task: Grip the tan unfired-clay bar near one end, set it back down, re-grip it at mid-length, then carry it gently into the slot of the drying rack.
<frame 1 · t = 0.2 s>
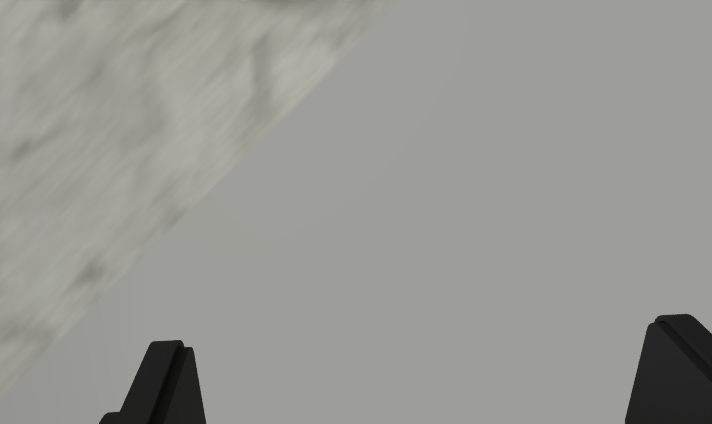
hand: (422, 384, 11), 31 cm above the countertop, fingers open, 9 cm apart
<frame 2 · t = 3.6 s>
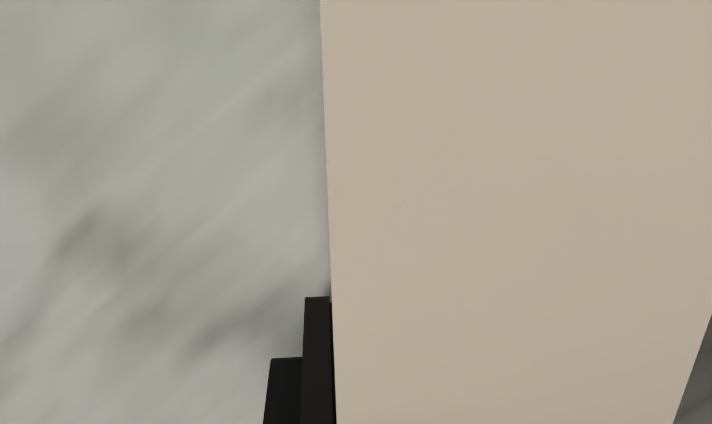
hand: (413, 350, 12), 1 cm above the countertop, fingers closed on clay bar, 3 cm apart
clay bar: (418, 182, 11), on the countertop, touching gripper
when the fingers open (1 cm above the countertop, at t = 5.2 s): clay bar stays where it is, on the countertop.
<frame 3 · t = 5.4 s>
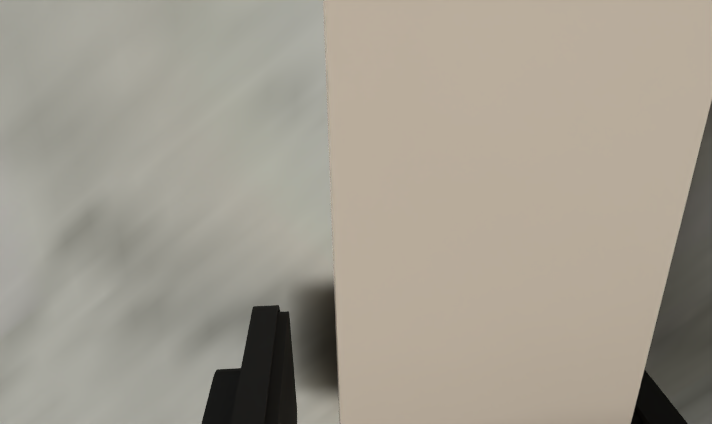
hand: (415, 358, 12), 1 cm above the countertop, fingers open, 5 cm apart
clay bar: (411, 228, 12), on the countertop
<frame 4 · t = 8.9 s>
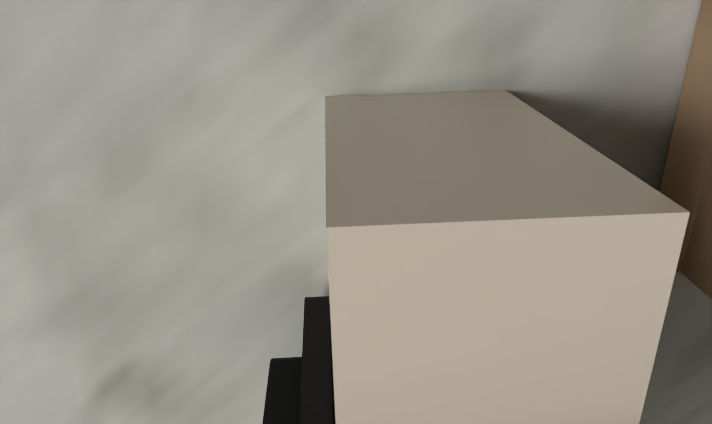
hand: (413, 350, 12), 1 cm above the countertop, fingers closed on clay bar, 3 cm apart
clay bar: (409, 379, 14), on the countertop, touching gripper
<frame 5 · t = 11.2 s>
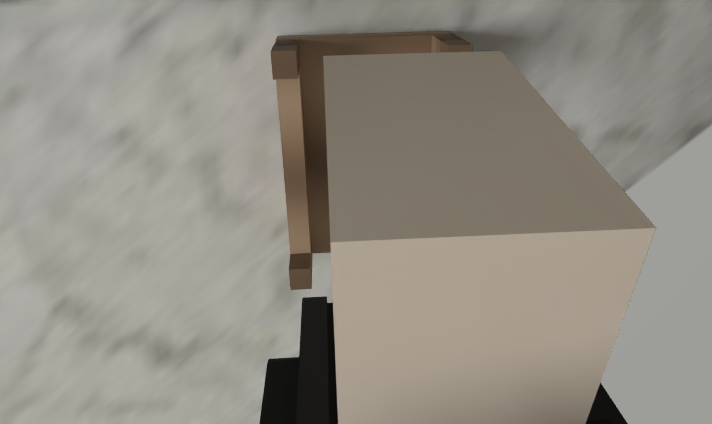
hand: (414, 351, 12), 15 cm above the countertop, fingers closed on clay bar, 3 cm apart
clay bar: (399, 313, 15), point 13 cm above the countertop, tilted 10°, touching gripper
rack: (365, 144, 26), on the countertop
when the fingers open (4 cm above the countertop, at t = 13.6 s): clay bar stays where it is, resting on rack.
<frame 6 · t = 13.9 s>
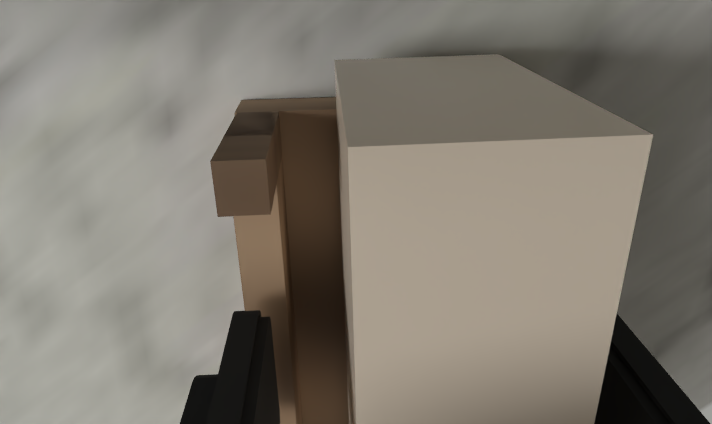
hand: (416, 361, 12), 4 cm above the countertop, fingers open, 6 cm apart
clay bar: (411, 329, 15), point 1 cm above the countertop, touching rack
rack: (395, 275, 15), on the countertop
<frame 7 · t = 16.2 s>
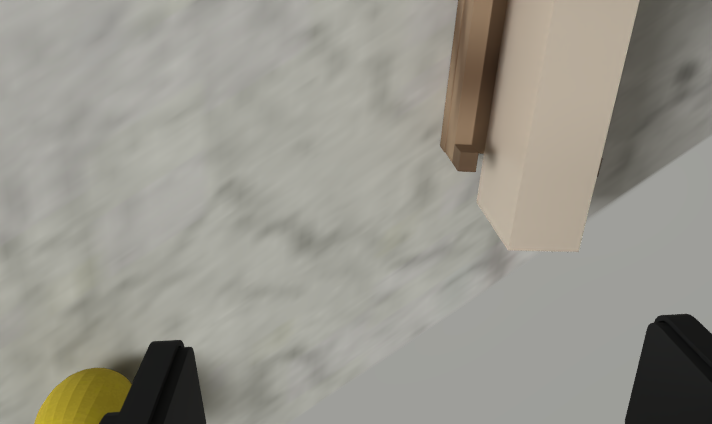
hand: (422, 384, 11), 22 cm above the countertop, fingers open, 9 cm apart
clay bar: (527, 81, 30), point 1 cm above the countertop, touching rack
lemon: (112, 374, 37), on the countertop
rack: (518, 60, 30), on the countertop
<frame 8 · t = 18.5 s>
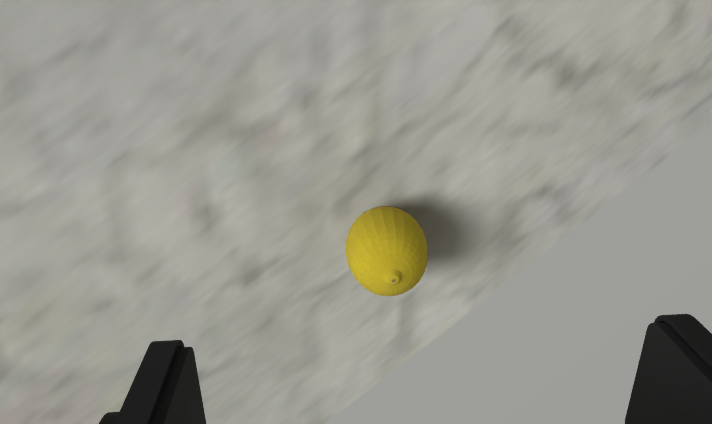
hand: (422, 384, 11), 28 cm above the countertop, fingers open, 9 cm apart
lemon: (380, 223, 42), on the countertop
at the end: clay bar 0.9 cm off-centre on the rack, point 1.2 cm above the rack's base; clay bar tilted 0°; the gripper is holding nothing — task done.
